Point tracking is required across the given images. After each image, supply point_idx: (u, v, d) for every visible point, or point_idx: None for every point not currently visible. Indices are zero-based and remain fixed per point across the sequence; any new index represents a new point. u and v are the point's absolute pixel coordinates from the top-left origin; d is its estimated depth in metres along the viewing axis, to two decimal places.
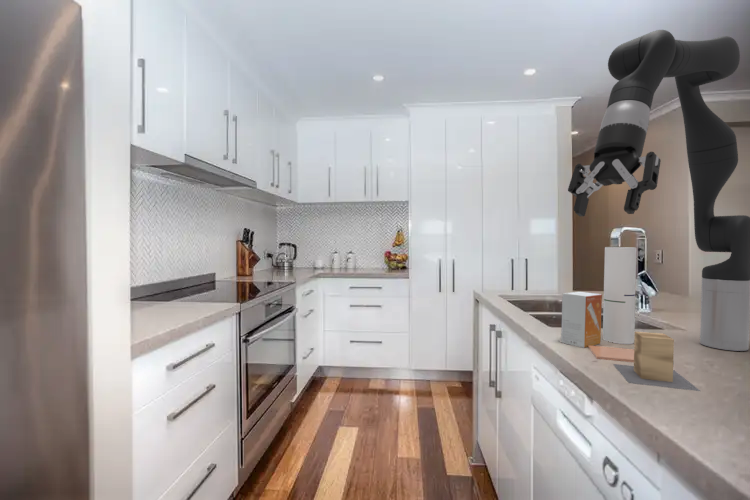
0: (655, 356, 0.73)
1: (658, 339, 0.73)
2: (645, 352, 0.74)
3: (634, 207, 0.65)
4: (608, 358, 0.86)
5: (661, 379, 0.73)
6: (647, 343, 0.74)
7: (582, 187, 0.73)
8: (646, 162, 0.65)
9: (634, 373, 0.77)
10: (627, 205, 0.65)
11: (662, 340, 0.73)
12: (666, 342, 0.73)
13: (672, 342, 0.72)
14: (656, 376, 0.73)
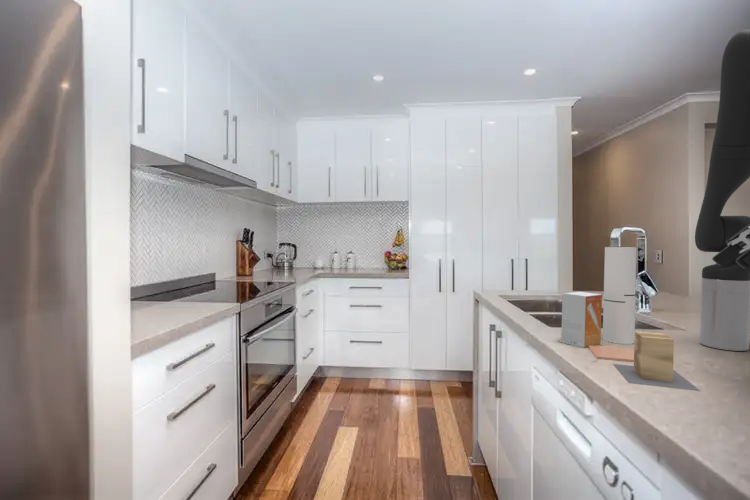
0: (655, 356, 0.73)
1: (658, 339, 0.73)
2: (645, 352, 0.74)
3: None
4: (608, 358, 0.86)
5: (661, 379, 0.73)
6: (647, 343, 0.74)
7: None
8: None
9: (634, 373, 0.77)
10: None
11: (662, 340, 0.73)
12: (666, 342, 0.73)
13: (672, 342, 0.72)
14: (656, 376, 0.73)
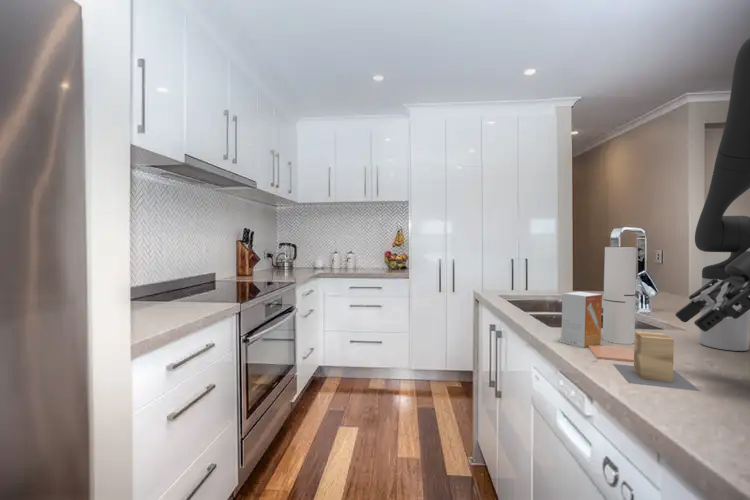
0: (655, 356, 0.73)
1: (658, 339, 0.73)
2: (645, 352, 0.74)
3: None
4: (608, 358, 0.86)
5: (661, 379, 0.73)
6: (647, 343, 0.74)
7: None
8: None
9: (634, 373, 0.77)
10: None
11: (662, 340, 0.73)
12: (666, 342, 0.73)
13: (672, 342, 0.72)
14: (656, 376, 0.73)
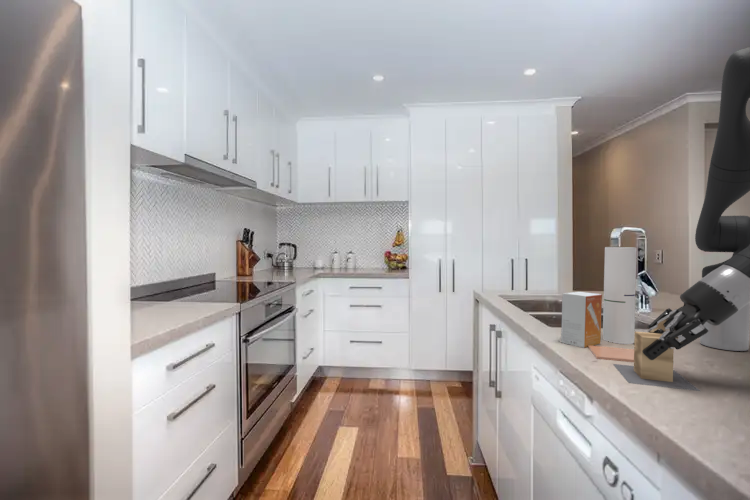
0: None
1: (658, 339, 0.73)
2: None
3: None
4: (608, 358, 0.86)
5: (661, 379, 0.73)
6: (647, 343, 0.74)
7: None
8: None
9: (634, 373, 0.77)
10: None
11: None
12: None
13: None
14: (656, 376, 0.73)
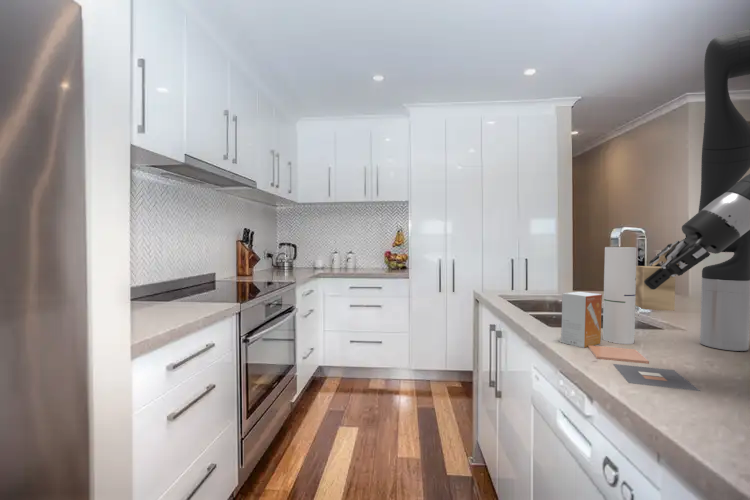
0: None
1: (660, 268, 0.73)
2: None
3: None
4: (608, 358, 0.86)
5: (663, 308, 0.73)
6: (649, 273, 0.74)
7: None
8: None
9: (634, 373, 0.77)
10: None
11: None
12: None
13: None
14: (658, 306, 0.73)
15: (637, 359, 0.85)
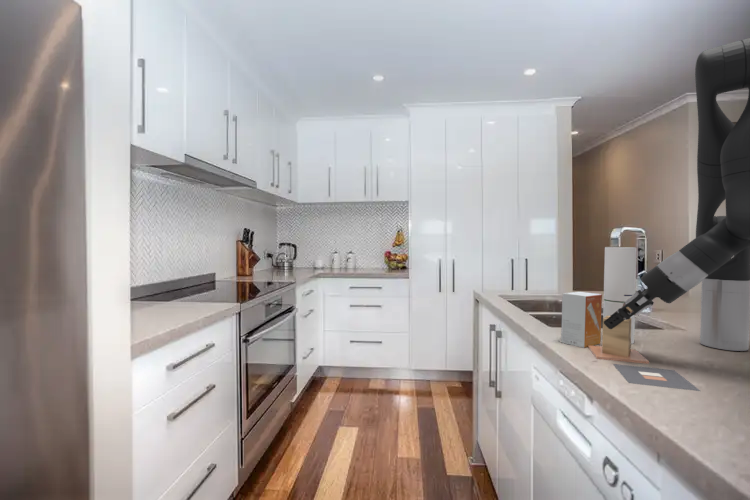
0: (613, 335, 0.88)
1: None
2: (605, 331, 0.89)
3: None
4: (608, 358, 0.86)
5: (618, 354, 0.88)
6: None
7: None
8: None
9: (634, 373, 0.77)
10: None
11: None
12: (622, 323, 0.87)
13: (627, 324, 0.86)
14: (614, 351, 0.88)
15: (637, 359, 0.85)
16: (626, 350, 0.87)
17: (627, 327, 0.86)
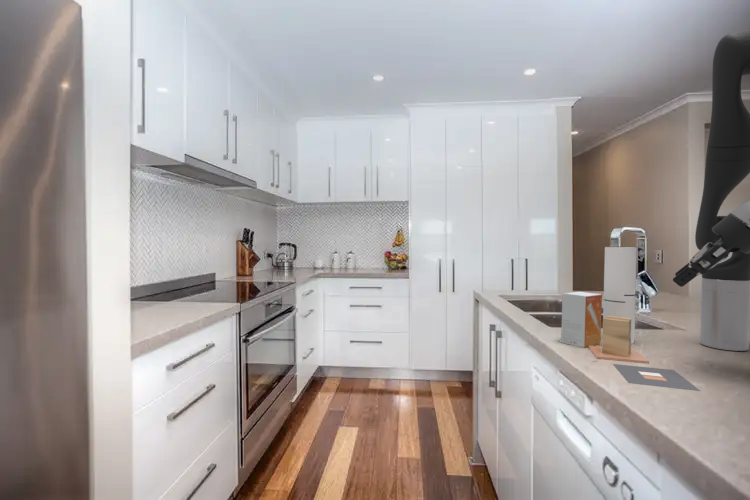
0: (613, 335, 0.88)
1: (615, 321, 0.88)
2: (605, 331, 0.89)
3: None
4: (608, 358, 0.86)
5: (618, 354, 0.88)
6: (606, 324, 0.89)
7: None
8: None
9: (634, 373, 0.77)
10: None
11: (619, 322, 0.87)
12: (622, 323, 0.87)
13: (627, 324, 0.86)
14: (614, 351, 0.88)
15: (637, 359, 0.85)
16: (626, 350, 0.87)
17: (627, 327, 0.86)
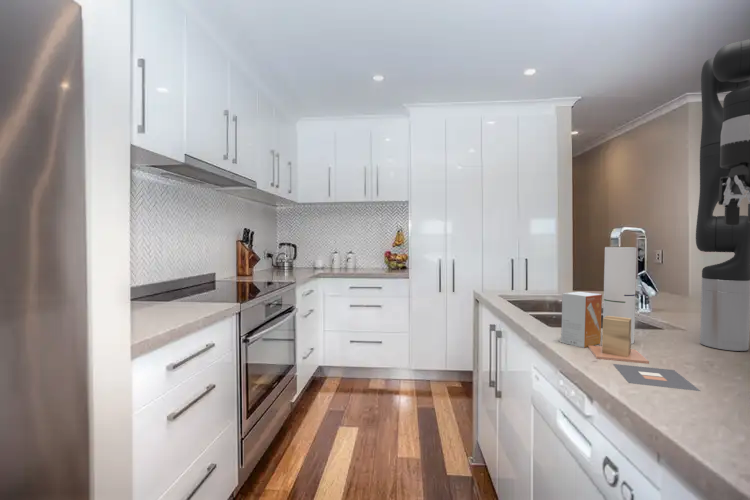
0: (613, 335, 0.88)
1: (615, 321, 0.88)
2: (605, 331, 0.89)
3: None
4: (608, 358, 0.86)
5: (618, 354, 0.88)
6: (606, 324, 0.89)
7: None
8: None
9: (634, 373, 0.77)
10: None
11: (619, 322, 0.87)
12: (622, 323, 0.87)
13: (627, 324, 0.86)
14: (614, 351, 0.88)
15: (637, 359, 0.85)
16: (626, 350, 0.87)
17: (627, 327, 0.86)
